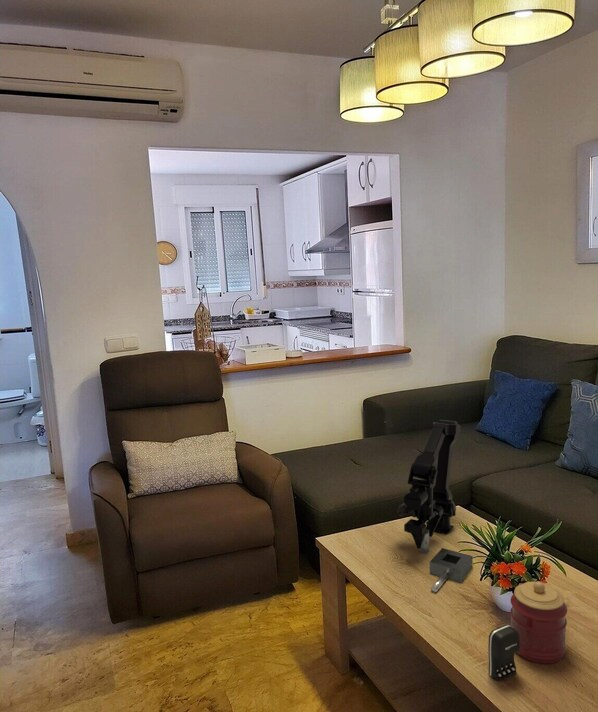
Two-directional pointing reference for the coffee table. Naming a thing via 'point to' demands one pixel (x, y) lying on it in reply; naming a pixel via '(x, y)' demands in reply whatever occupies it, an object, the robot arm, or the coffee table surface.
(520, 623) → the canister
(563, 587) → the coffee table surface
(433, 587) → the chuck block
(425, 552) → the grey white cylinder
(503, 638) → the battery charger
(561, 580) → the coffee table surface
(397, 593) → the coffee table surface
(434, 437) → the robot arm
